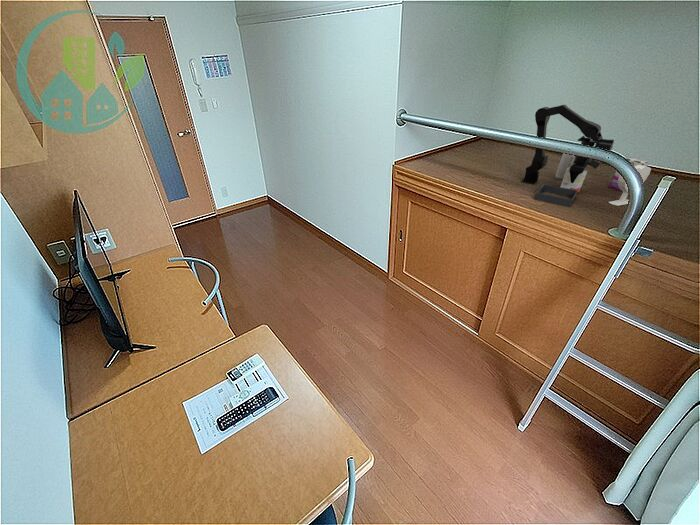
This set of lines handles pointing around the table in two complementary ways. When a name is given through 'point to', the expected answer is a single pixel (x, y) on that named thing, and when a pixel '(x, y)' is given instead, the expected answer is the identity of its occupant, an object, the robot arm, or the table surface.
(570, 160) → the travel mug
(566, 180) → the ink box
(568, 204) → the dark grey tray frame
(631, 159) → the candy bar box
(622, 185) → the heart sculpture
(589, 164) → the robot arm
